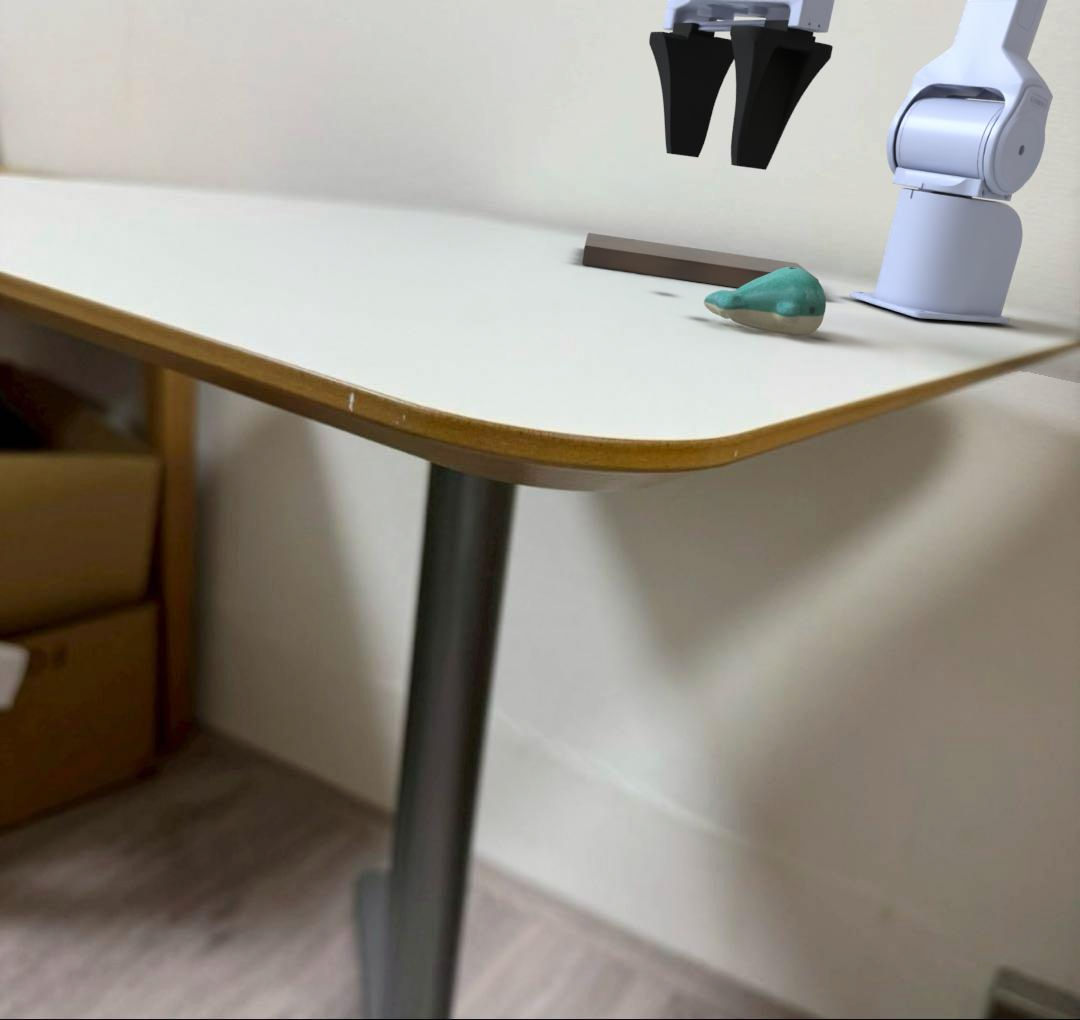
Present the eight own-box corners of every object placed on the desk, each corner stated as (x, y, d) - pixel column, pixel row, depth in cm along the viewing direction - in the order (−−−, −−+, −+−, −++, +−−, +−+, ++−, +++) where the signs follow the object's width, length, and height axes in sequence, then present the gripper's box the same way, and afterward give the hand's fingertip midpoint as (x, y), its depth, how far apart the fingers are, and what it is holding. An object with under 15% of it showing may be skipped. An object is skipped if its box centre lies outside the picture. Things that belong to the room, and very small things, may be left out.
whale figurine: (837, 343, 63) (853, 280, 62) (726, 334, 61) (740, 268, 60) (791, 322, 68) (804, 263, 67) (687, 313, 66) (699, 251, 65)
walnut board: (793, 280, 90) (797, 263, 90) (814, 299, 81) (819, 279, 80) (585, 250, 90) (587, 232, 90) (581, 265, 81) (584, 245, 81)
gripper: (637, -93, 64) (602, 143, 69) (776, -124, 52) (722, 165, 56) (735, -69, 67) (695, 155, 71) (888, -94, 54) (828, 179, 59)
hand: (713, 161), depth 64 cm, fingers open, 7 cm apart
